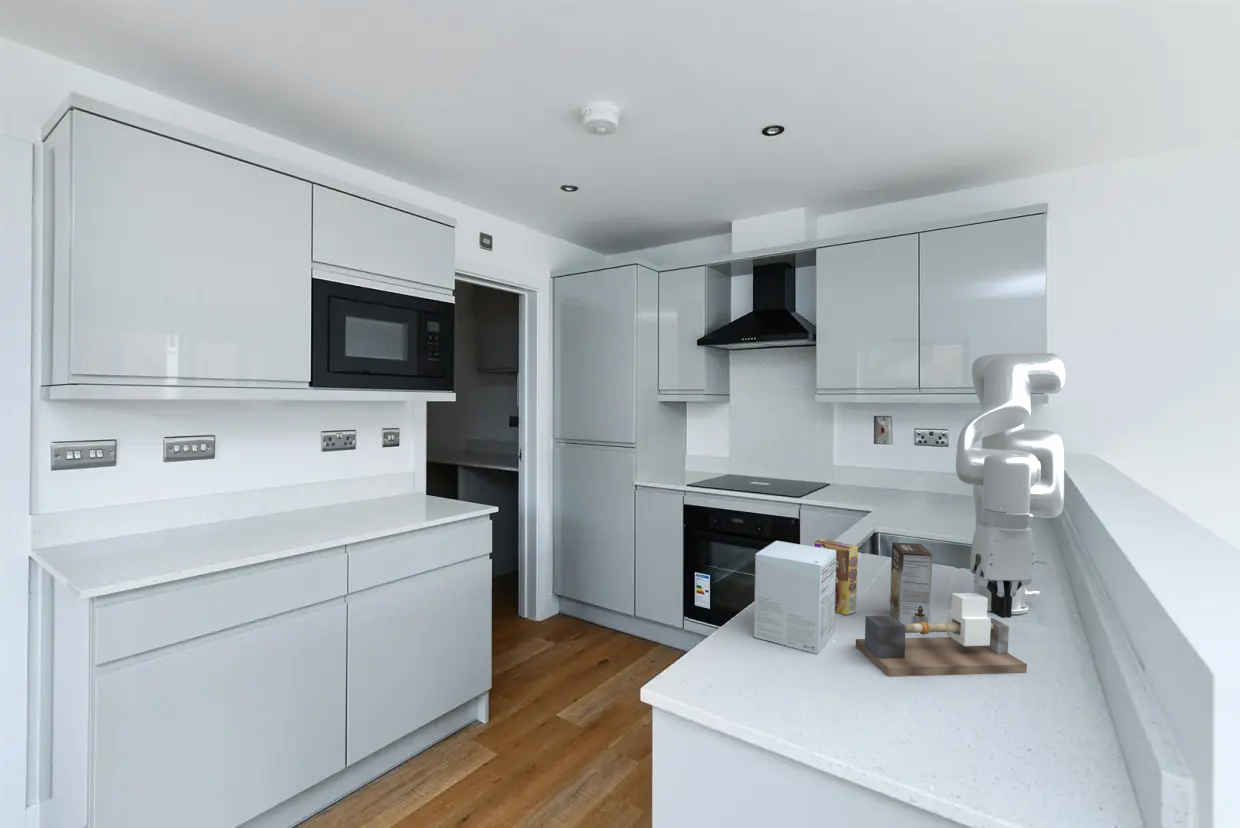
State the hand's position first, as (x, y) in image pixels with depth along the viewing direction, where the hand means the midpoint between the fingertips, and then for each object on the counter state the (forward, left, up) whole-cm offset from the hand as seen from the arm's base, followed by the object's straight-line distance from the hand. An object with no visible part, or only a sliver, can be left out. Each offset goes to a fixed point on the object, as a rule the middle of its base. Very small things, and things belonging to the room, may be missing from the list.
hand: (1000, 615), depth 111 cm
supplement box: (+35, -12, -8) cm, 38 cm away
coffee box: (+6, -19, -8) cm, 22 cm away
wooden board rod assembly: (+12, 0, -8) cm, 15 cm away
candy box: (+20, -26, -8) cm, 34 cm away
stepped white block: (+6, 0, -5) cm, 8 cm away
